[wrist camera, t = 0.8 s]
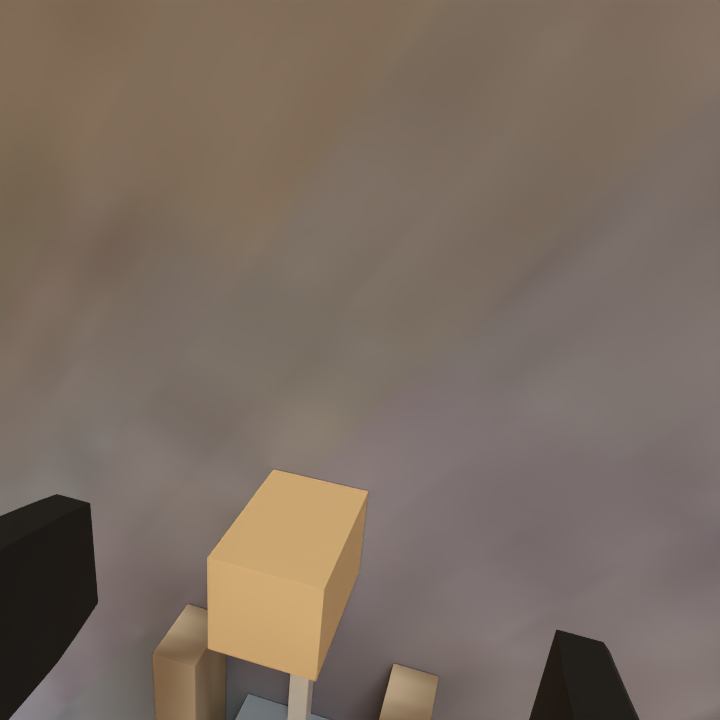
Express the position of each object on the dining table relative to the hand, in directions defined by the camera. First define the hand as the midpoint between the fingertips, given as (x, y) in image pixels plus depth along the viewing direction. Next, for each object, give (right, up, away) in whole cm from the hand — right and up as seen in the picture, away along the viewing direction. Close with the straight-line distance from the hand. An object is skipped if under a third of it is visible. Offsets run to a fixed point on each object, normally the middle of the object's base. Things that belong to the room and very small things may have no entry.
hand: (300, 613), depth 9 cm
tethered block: (-1, -7, +14) cm, 15 cm away
